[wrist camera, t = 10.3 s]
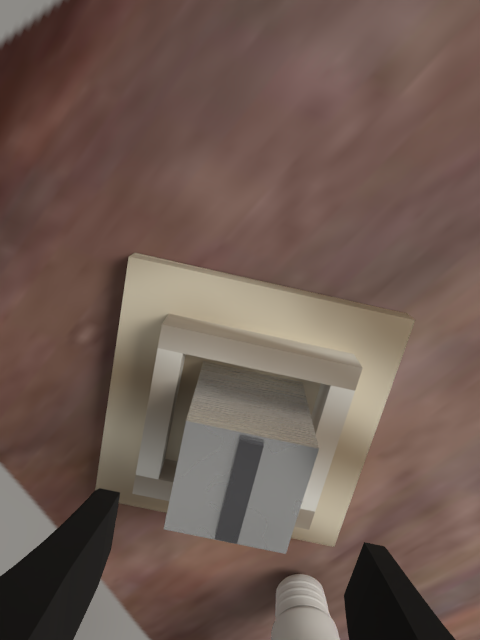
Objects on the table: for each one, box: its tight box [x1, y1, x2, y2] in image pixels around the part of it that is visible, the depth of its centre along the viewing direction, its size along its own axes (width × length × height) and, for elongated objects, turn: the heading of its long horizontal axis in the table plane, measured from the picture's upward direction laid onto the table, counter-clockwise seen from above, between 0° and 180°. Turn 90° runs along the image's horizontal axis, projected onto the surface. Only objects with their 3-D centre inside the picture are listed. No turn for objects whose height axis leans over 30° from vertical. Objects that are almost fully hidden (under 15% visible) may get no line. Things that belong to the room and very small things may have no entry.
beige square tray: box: [95, 253, 415, 547], centre depth 19 cm, size 12×12×2 cm
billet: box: [164, 361, 319, 554], centre depth 17 cm, size 4×4×5 cm
